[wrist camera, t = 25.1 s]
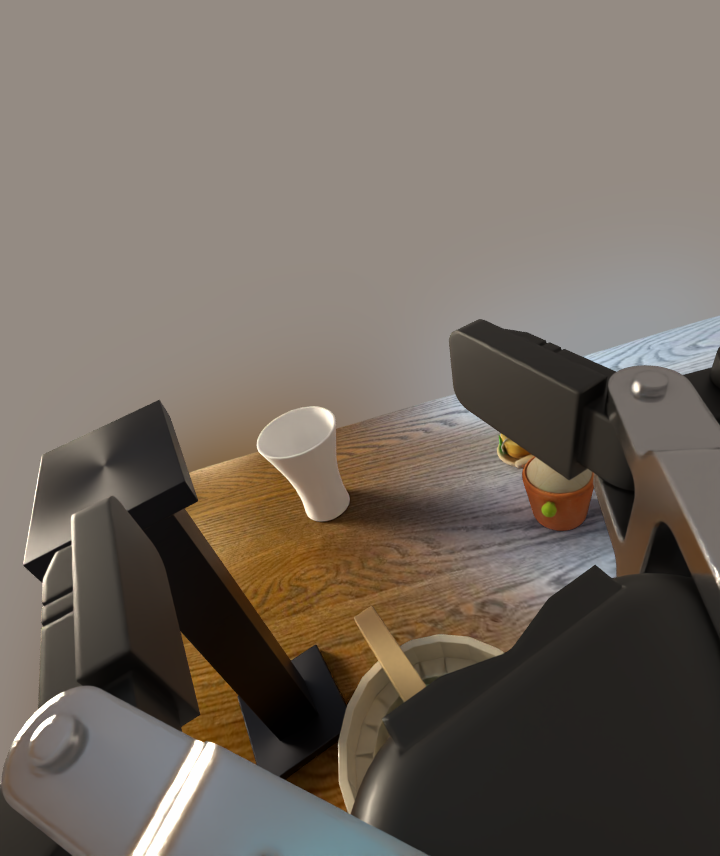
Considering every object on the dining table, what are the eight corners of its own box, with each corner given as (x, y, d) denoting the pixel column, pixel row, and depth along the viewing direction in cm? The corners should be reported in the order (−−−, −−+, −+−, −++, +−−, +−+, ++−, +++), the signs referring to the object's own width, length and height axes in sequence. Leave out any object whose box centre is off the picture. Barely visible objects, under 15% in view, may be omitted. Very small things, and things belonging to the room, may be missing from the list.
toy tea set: (694, 522, 49) (709, 454, 44) (550, 561, 50) (547, 499, 45) (573, 397, 71) (573, 340, 65) (474, 426, 72) (465, 372, 66)
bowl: (530, 986, 28) (524, 976, 25) (321, 823, 38) (296, 798, 34) (589, 719, 38) (590, 685, 35) (412, 641, 47) (399, 608, 44)
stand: (359, 732, 42) (194, 476, 24) (269, 798, 40) (11, 571, 22) (313, 637, 51) (166, 396, 32) (237, 687, 48) (33, 458, 30)
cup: (342, 468, 72) (314, 396, 64) (377, 505, 64) (350, 427, 56) (282, 503, 69) (246, 433, 62) (310, 546, 61) (272, 471, 53)
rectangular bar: (596, 945, 25) (597, 939, 24) (568, 973, 25) (568, 968, 23) (377, 616, 44) (371, 605, 43) (359, 629, 43) (353, 617, 42)
